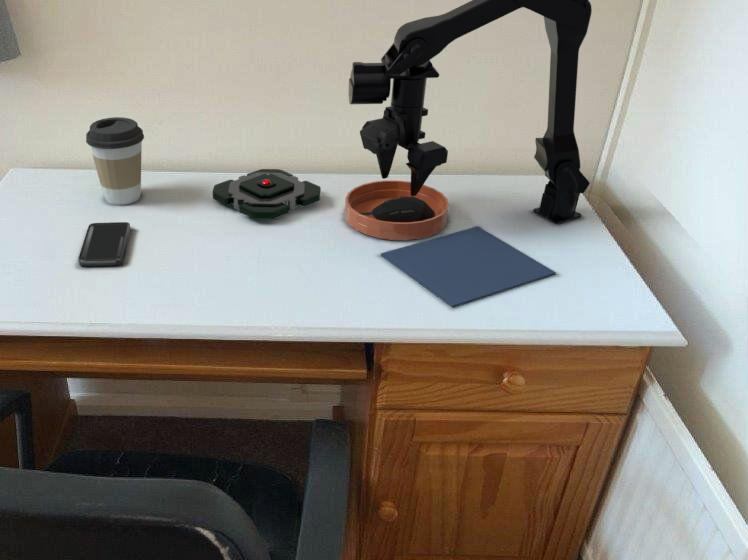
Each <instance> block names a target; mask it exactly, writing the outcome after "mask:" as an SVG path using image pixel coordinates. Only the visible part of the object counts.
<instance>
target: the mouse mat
mask: <svg viewBox="0 0 748 560" xmlns="http://www.w3.org/2000/svg"><path fill="white" fill-rule="evenodd" d="M380 256H381V257H383V259H385V260H386V261H388V262H389V263H391V264H392V265H393V266H395V267H396V268H398V269H399V270H400V271H401V272H403V273H404V274H406V275H407V276H408V277H409V278H411V279H412V280H414V281H416V282H417V283H418V284H419V285H421V286H422V287H423V288H425V289H426V290H427V291H429V292H430V293H432V294H433V295H434V296H436V297H437V298H438V299H440V300H441V301H442V302H444V303H445V304H447V305H448V306H450V307H451V308H456V307H459V306H462V305H466V304H468V303H471V302H474V301H478V300H480V299H483V298H484V299H485V298H486V297H490V296H494V295H495V294H500V293H502V292H505V291H508V290H509V291H510V290H511V289H515V288H518V287H521V286H524V285H527V284H530V283H534V282H537V281H539V280H542V279H545V278H548V277H551V276H555V275H556V274H557V272H556V271H554V270H553V269H551V268H550V267H548V266H547V265H546V266H545V265H544V264H543V263H540V261H537V260H536V259H534V258H533V257H531V256H529V255H527V254H526V253H524V252H522V251H520V250H519V249H517V248H515V247H514V246H512V245H510V244H509V243H507V242H506V241H503V240H502V239H500V238H498V237H497V236H495V235H493V234H492V233H490V232H488V231H487V230H485V229H483V228H481V227H480V226H473V227H470V228H467V229H464V230H463V229H462V230H459V231H456V232H453V233H448V234H445V235H441V236H438V237H434V238H431V239H428V240H427V239H426V240H423V241H420V242H417V243H413V244H410V245H406V246H403V247H398V248H396V249H395V248H394V249H391V250H388V251H385V252H381V253H380Z"/></svg>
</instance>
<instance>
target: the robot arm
mask: <svg viewBox="0 0 748 560" xmlns="http://www.w3.org/2000/svg"><path fill="white" fill-rule="evenodd" d="M522 8H524V9H527V10H530V11H532V12H534V13H535V14H538V15H539V16H542V17H543V20H544V29H545V33H546V36H547V40H548V43H549V48H550V60H549V63H550V64H549V81H548V83H549V84H548V107H547V127H546V131H545V133H544V135H543V137H536V138H534V139H535V141H534V142H535V148H536V149H535V154H534V155H533V158H534V159H535V161H536V162H537V163H538V166H539V167H540V169H542V172H543V173H544V176H545V177H546V178H547V179H548V180H549V181H548V182H547V183H546V184H545V187H544V191H543V192H542V195H541V200H540V204H539V207H535V208H533V210H532V212H533V213H534V214H537V215H538V216H540V217H542V218H544V219H545V220H548V221H549V222H552V223H553V224H556V225H558V224H562V223H566V222H569V221H572V220H576V219H579V218H581V217H582V214H581V213H580V212H578V211H577V206H578V203H579V199H580V195H581V194H584V193H585V192H586V190H587V189H588V188H589V186H590V181H589V180H588V178H586V176H585V175H584V174H583V172H582V171H580V170H581V158H580V157H581V156H580V151H579V145H578V143H577V139H576V135H575V115H576V100H577V99H576V98H577V87H578V86H577V84H578V68H579V55H580V48H581V46H582V44H583V42H584V40H585V38H586V36H587V34H588V30H589V26H590V22H591V18H592V13H593V9H592V3H591V2H590V0H470V1H468V2H466V3H463V4H461V5H460V6H458V7H456V8H453V9H452V10H450V11H447V12H446V13H443V14H439V15H434V16H427V17H423V18H419V19H416V20H412V21H409V22H406V23H404V24H402V25H401V26H400V27H399V28H397V31H396V33H395V35H394V38H393V39H394V40H393V43H392V44H391V46H390V47H389V48H388V49H387V51H386V52H385V53H384V55H382V57H381V59H380V62H363V61H353V62H352V66H351V70H350V78H348V103H349V105H382V104H383V103H384V102H387V99H388V98H390V106H385V109H384V110H383V116H382V117H381V118H377V119H372V120H368V121H365V123H364V124H363V126H362V128H361V129H360V130H359V136H360V139H361V143H362V146H363V147H362V148H363V149H364V150H368V151H369V152H371V154H373V155H376V159H377V163H378V168H379V172H380V176H381V178H382V179H383V180H384V179H387V178H388V177H389V175H390V172H391V170H392V166H393V163H394V159H395V155H396V152H397V148H398V146H399V147H401V148H403V149H405V150H406V151H407V156H406V157H407V161H408V162H406V163H405V165H406V166H407V167H408V169H410V182H411V186H410V190H411V196H416V195H417V194H418V192H419V190H420V189H421V187H422V186H423V185H425V183H426V181H427V180H428V178H429V177H430V176H431V174H432V173H433V171H434V170H435V169H436V168H437V167H440V166H442V165H443V164H447V162H448V155H449V150H448V149H447V148H446V146H444V145H442V144H440V143H437V142H436V141H434V140H430V141H427V142H422V143H420V142H419V140H423V139H426V132H425V131H423V130H422V122H423V117H426V116H428V115H429V109H428V108H426V107H424V106H425V98H426V97H425V95H426V89H427V81H428V80H427V79H437V78H439V77H440V73H439V71H438V70H437V69H436V67H435V66H434V65H433V63H432V61H431V60H432V59H433V58H435V57H436V56H438V55H439V54H441V52H442V51H444V50H445V49H446V48H447V47H448V46H449V45H450V44H451V43H452V42H454V41H455V40H457V39H459V38H461V37H464V36H465V35H468V34H469V33H471V32H474V31H476V30H478V29H480V28H482V27H484V26H486V25H488V24H490V23H492V22H495V21H497V20H498V19H500V18H503V17H504V16H507V15H509V14H511V13H513V12H515V11H517V10H520V9H522ZM391 83H392V86H391ZM390 95H391V97H390Z"/></svg>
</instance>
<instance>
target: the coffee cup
mask: <svg viewBox="0 0 748 560" xmlns="http://www.w3.org/2000/svg"><path fill="white" fill-rule="evenodd" d="M144 139H145V134H144V131H143V128H141V127H140V126H139V125H138V122H137V121H135V120H134V119H132V118H129V117H128V118H127V117H122V116H121V117H119V116H115V117H107V118H101V119H98V120H96V121H94V122H92V123H91V124H90V125H89V130H88V131H87V132H86V133H85V142H86V144H87V145H88V146H89V147H90V151H91V156H92V159H93V162H94V166H95V169H96V170H95V171H96V172H97V177H98V179H99V184H100V187H101V191H102V195H103V197H104V199H105V201H106V203H108V204H110V205H115V206H126V205H131V204H133V203H136V202H138V201H139V200H140V199H141V193H142V147H143V146H142V143H143V140H144Z"/></svg>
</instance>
